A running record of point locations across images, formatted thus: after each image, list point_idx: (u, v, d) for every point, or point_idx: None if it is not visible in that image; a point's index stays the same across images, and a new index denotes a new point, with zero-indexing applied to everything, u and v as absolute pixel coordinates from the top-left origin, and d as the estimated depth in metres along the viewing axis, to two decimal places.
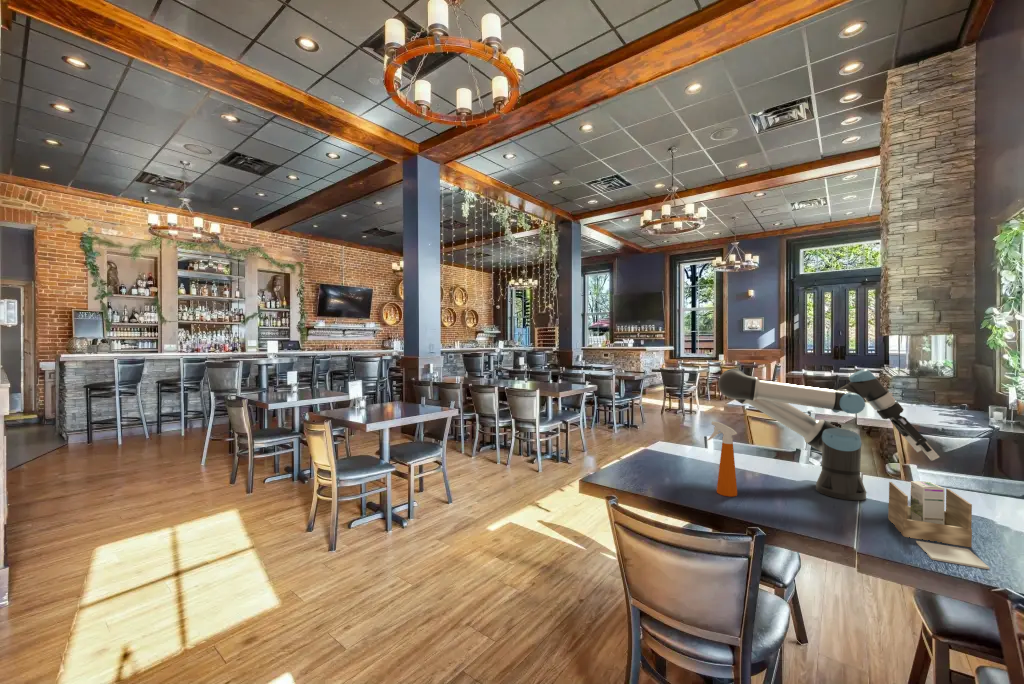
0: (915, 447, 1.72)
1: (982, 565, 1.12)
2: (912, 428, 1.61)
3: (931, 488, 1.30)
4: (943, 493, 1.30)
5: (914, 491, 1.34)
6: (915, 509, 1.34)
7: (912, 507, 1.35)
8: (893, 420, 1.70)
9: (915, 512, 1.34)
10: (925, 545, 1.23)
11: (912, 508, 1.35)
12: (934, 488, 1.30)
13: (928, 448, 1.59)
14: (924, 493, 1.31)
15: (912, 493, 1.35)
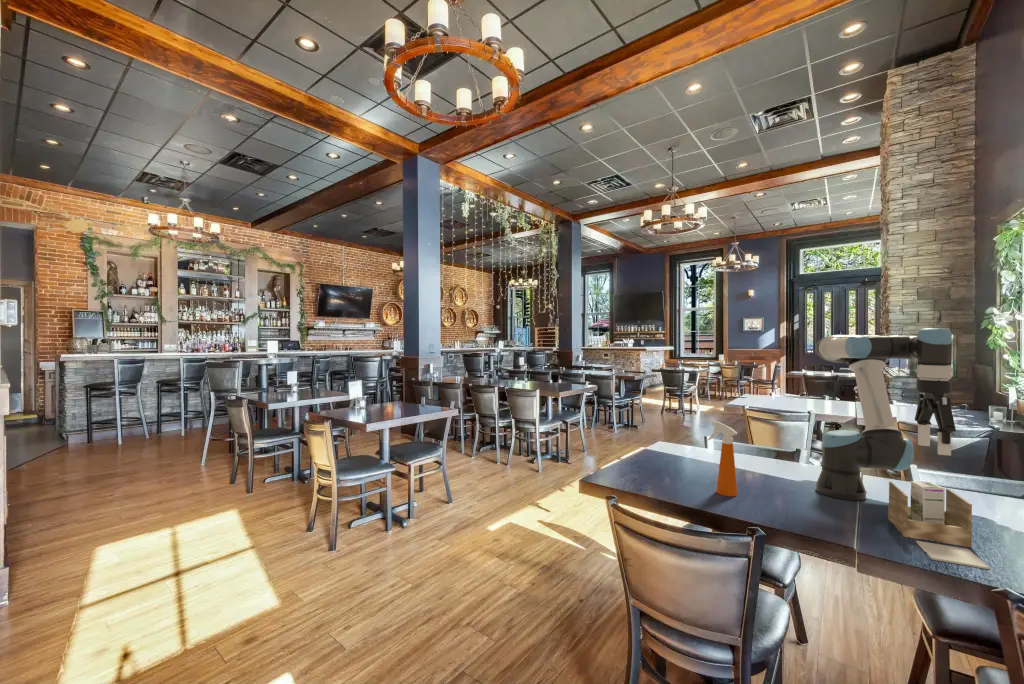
0: (921, 439, 1.39)
1: (982, 565, 1.12)
2: (949, 412, 1.26)
3: (931, 488, 1.30)
4: (943, 493, 1.30)
5: (914, 491, 1.34)
6: (915, 508, 1.34)
7: (912, 507, 1.35)
8: (927, 398, 1.35)
9: (915, 512, 1.34)
10: (925, 545, 1.23)
11: (912, 508, 1.35)
12: (934, 488, 1.30)
13: (948, 440, 1.26)
14: (924, 493, 1.31)
15: (912, 493, 1.35)
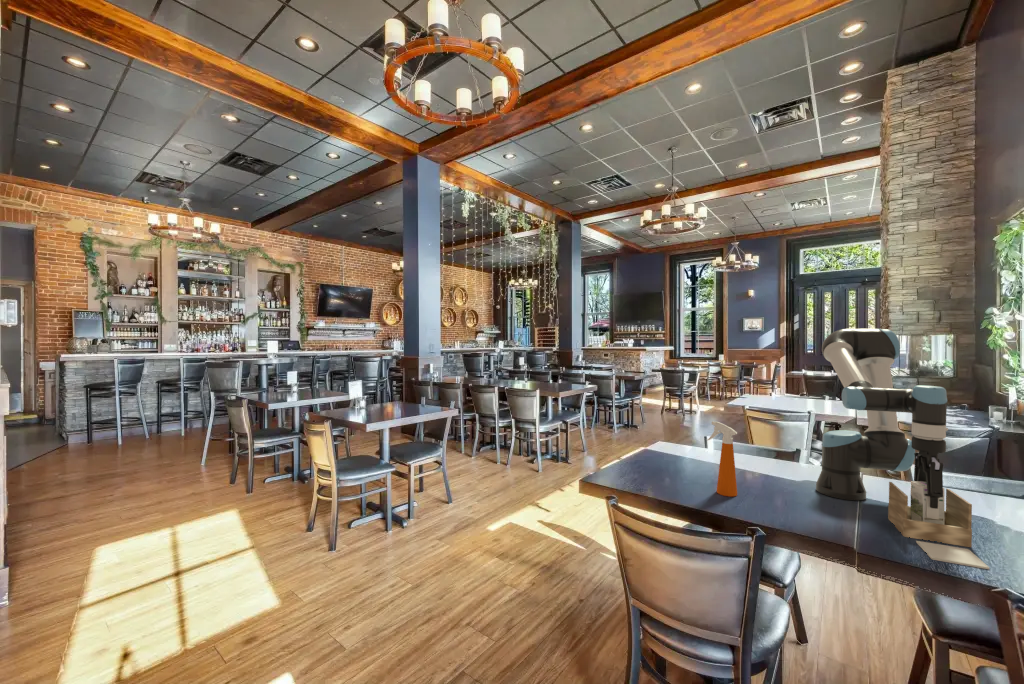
0: None
1: (982, 565, 1.12)
2: (939, 478, 1.27)
3: None
4: (943, 493, 1.30)
5: (914, 491, 1.34)
6: (915, 508, 1.34)
7: (912, 507, 1.35)
8: (921, 455, 1.34)
9: (915, 512, 1.34)
10: (925, 545, 1.23)
11: (912, 508, 1.35)
12: None
13: (935, 505, 1.28)
14: (924, 493, 1.31)
15: (912, 493, 1.35)
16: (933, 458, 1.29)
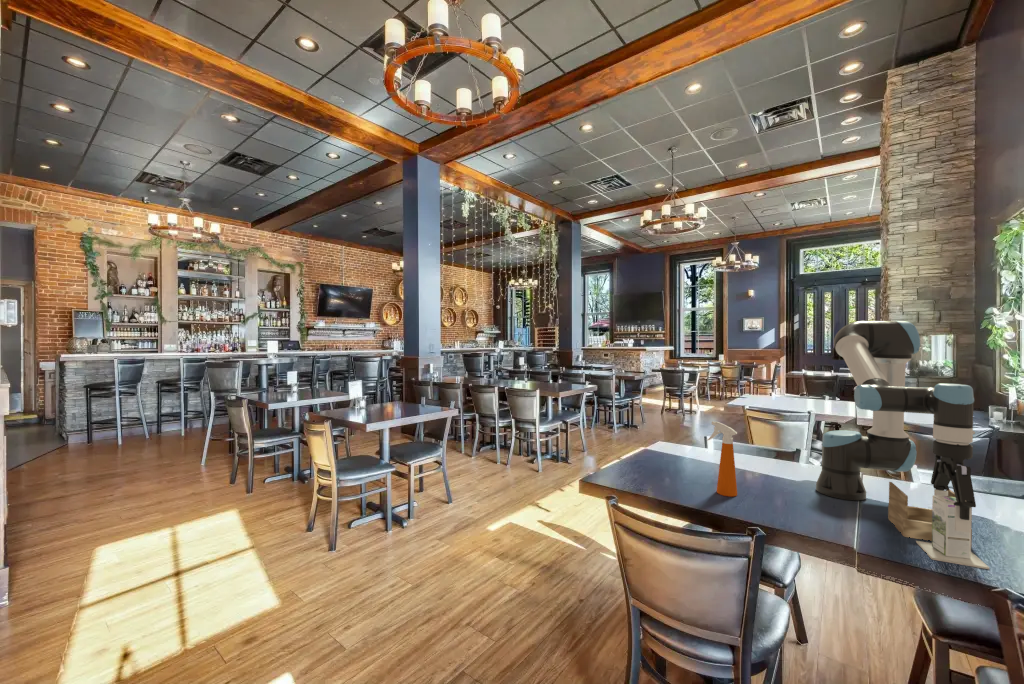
0: None
1: (982, 565, 1.12)
2: (969, 484, 1.11)
3: None
4: None
5: (936, 507, 1.20)
6: (938, 526, 1.19)
7: (934, 524, 1.21)
8: (944, 462, 1.20)
9: (937, 530, 1.20)
10: (925, 545, 1.23)
11: (934, 525, 1.21)
12: None
13: (966, 516, 1.11)
14: (948, 509, 1.17)
15: (934, 509, 1.21)
16: (958, 464, 1.15)
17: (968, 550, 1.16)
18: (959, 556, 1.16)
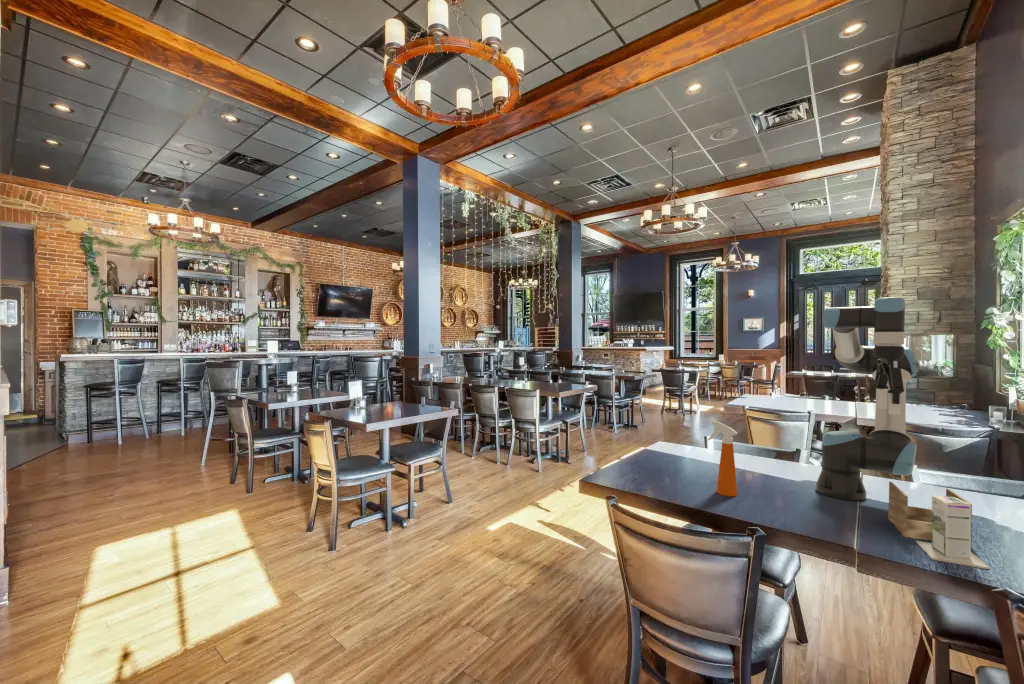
0: (878, 402, 1.49)
1: (982, 565, 1.12)
2: (899, 374, 1.35)
3: (955, 504, 1.16)
4: (969, 510, 1.15)
5: (936, 507, 1.20)
6: (937, 526, 1.20)
7: (933, 525, 1.21)
8: (882, 363, 1.44)
9: (937, 530, 1.20)
10: (925, 545, 1.23)
11: (933, 526, 1.21)
12: (959, 504, 1.16)
13: (897, 400, 1.35)
14: (947, 509, 1.17)
15: (933, 509, 1.21)
16: None
17: (968, 550, 1.16)
18: (959, 556, 1.16)
